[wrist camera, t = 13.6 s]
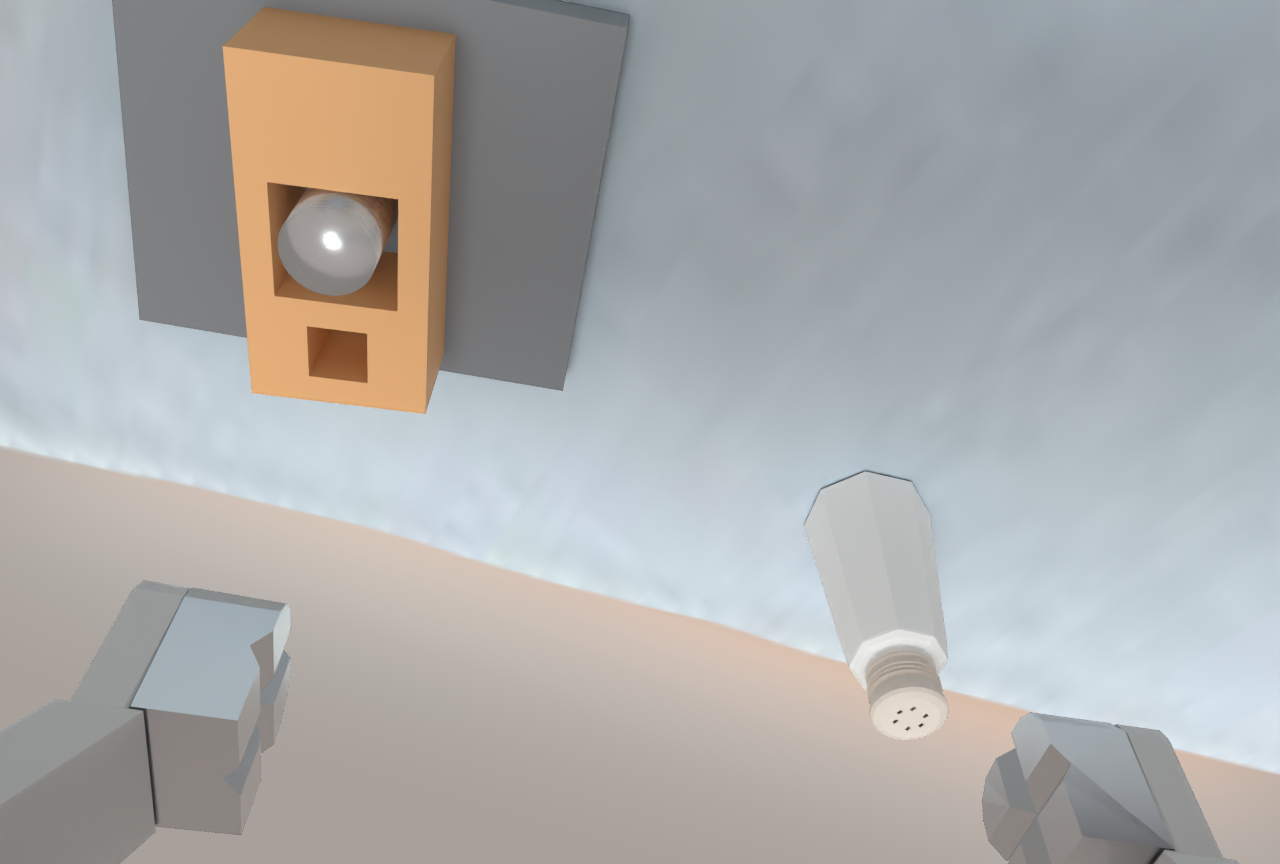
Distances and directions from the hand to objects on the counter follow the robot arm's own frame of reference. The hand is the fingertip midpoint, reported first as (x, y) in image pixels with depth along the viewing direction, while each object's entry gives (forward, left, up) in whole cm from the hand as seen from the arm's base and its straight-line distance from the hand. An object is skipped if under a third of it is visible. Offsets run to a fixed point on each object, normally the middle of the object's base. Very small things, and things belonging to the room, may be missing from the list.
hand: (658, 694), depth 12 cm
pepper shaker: (-13, +20, -29) cm, 38 cm away
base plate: (+9, +8, -29) cm, 31 cm away
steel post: (+9, +8, -29) cm, 31 cm away
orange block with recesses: (+9, +8, -28) cm, 30 cm away
